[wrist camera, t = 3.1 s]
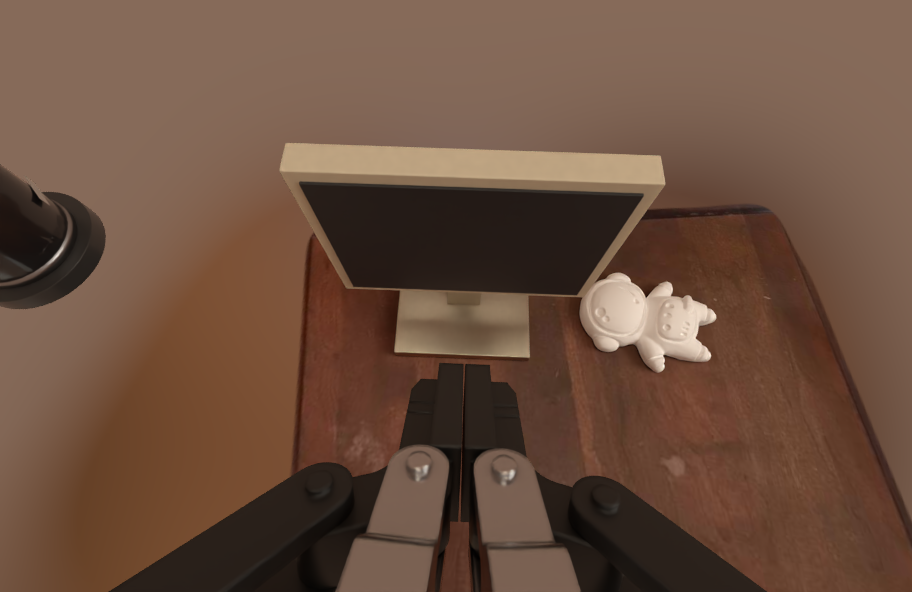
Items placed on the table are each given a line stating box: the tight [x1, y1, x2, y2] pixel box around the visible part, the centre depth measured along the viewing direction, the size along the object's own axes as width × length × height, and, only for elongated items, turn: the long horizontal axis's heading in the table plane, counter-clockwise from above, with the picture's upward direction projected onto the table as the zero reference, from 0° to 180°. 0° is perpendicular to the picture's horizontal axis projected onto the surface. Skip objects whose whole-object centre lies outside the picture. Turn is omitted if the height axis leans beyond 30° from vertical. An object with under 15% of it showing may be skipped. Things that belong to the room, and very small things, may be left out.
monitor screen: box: [279, 143, 665, 297], centre depth 25 cm, size 2×17×13 cm, turn 88°
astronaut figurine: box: [579, 273, 716, 372], centre depth 39 cm, size 9×12×3 cm
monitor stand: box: [394, 290, 530, 361], centre depth 36 cm, size 9×12×12 cm
